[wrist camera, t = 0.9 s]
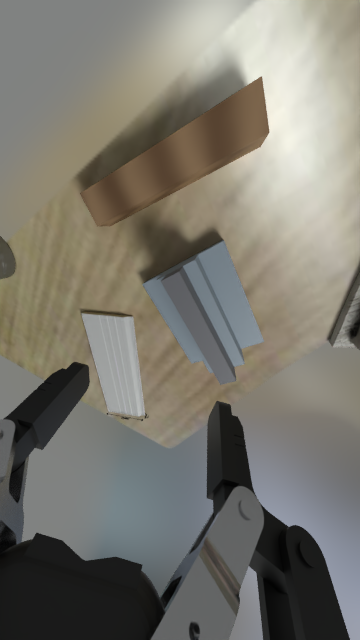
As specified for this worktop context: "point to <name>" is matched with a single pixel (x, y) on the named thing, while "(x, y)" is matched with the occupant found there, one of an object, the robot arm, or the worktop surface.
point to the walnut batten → (182, 157)
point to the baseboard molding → (116, 361)
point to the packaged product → (349, 320)
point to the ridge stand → (207, 310)
